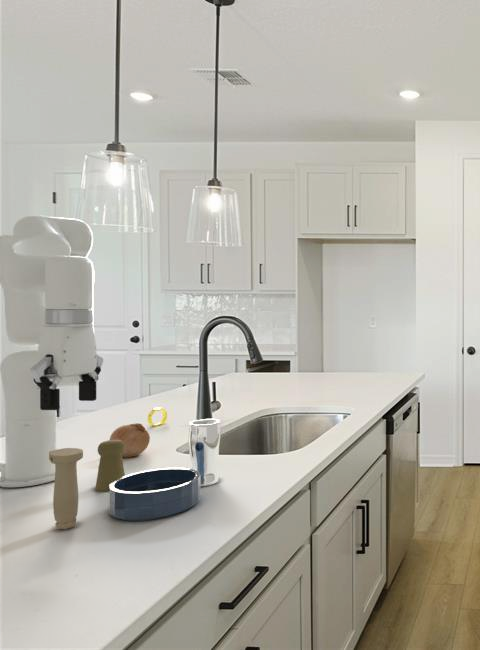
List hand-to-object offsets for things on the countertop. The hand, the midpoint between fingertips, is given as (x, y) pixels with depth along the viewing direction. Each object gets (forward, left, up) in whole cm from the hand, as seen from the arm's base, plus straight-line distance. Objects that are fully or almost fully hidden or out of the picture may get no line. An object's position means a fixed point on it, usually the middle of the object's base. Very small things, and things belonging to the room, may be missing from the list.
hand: (69, 404), depth 112 cm
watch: (-33, +83, -24) cm, 93 cm away
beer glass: (+13, +26, -24) cm, 38 cm away
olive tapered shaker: (-7, +22, -24) cm, 34 cm away
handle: (0, -1, -24) cm, 24 cm away
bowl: (+11, +10, -24) cm, 28 cm away
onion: (-19, +47, -24) cm, 56 cm away
